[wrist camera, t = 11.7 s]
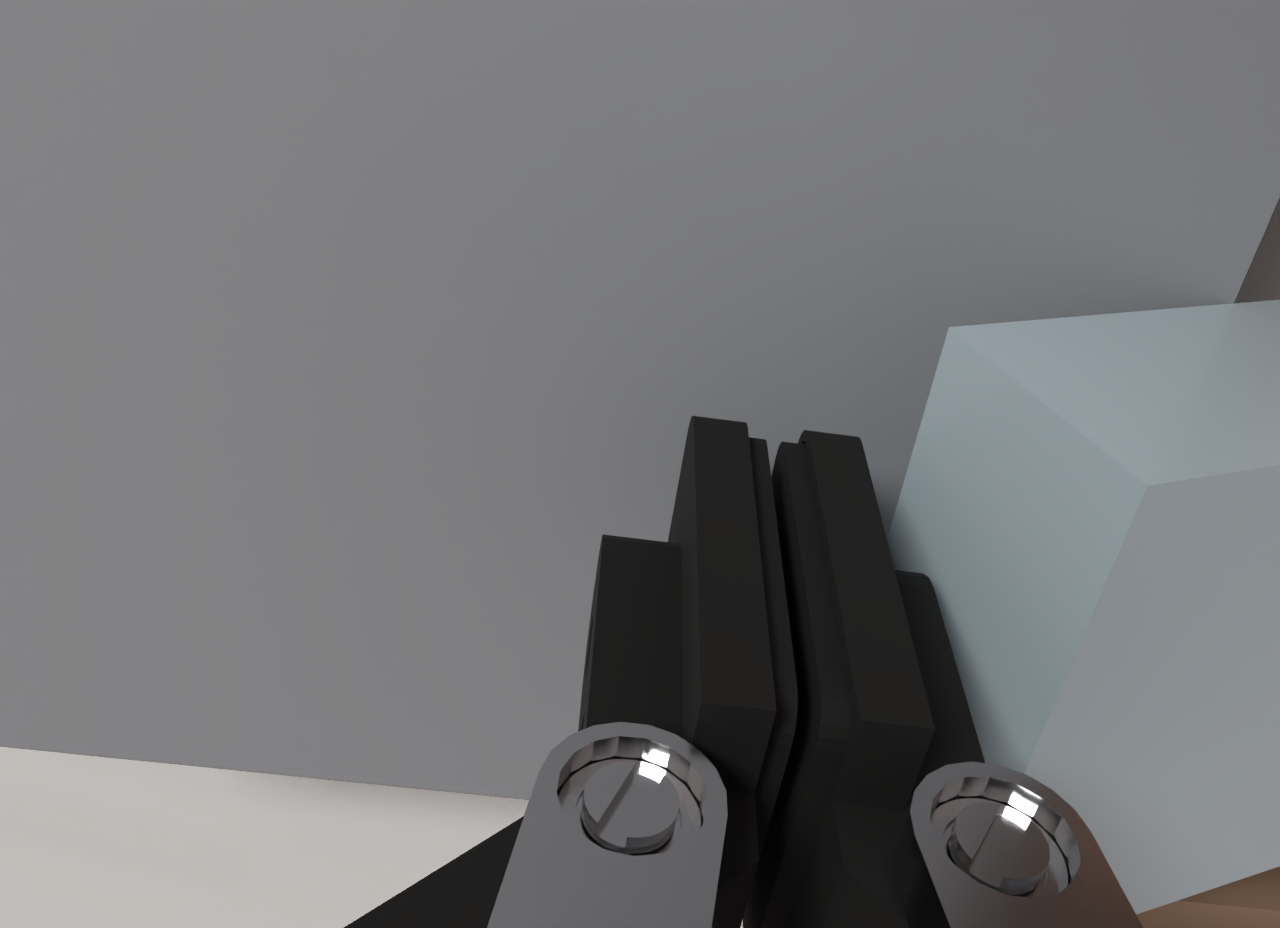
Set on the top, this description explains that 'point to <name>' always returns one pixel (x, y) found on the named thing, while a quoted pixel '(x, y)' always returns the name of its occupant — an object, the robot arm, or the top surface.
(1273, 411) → the blue-grey tile
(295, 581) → the grey flat block
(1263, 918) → the box
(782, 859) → the robot arm
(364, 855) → the top surface
